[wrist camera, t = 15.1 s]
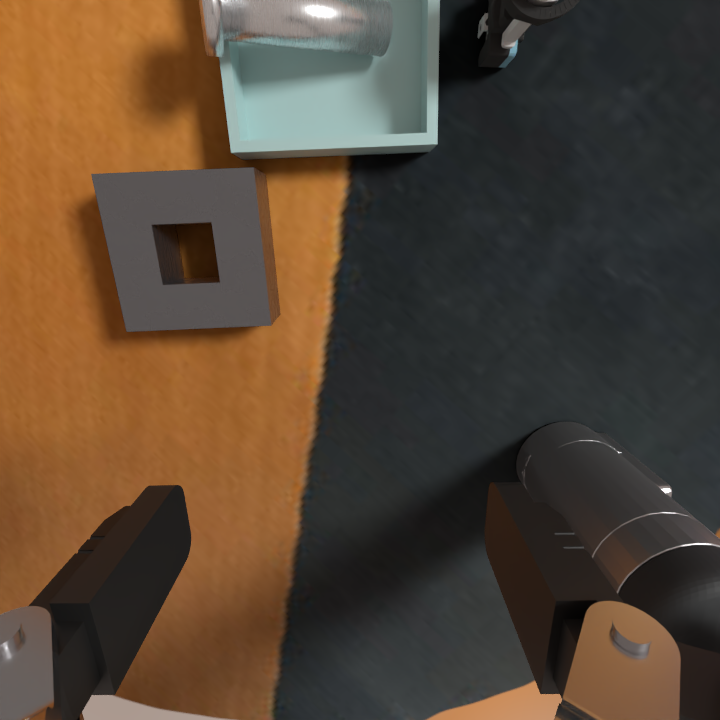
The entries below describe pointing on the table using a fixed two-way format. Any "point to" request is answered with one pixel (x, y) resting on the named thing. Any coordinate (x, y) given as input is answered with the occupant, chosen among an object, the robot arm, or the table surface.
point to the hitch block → (162, 254)
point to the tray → (336, 94)
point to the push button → (514, 26)
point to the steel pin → (299, 24)
